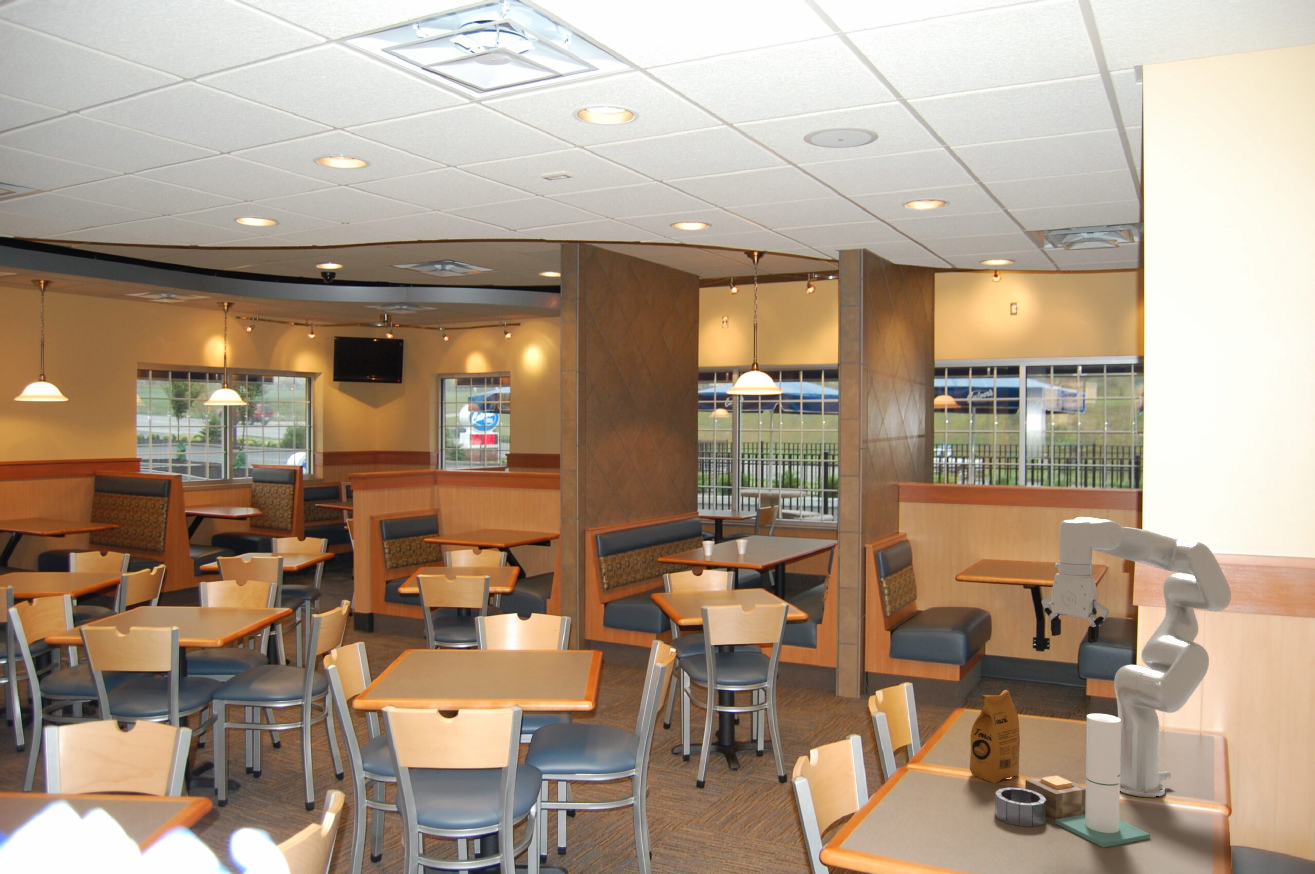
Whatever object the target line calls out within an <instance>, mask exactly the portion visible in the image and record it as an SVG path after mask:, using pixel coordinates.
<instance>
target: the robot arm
mask: <svg viewBox="0 0 1315 874" xmlns="http://www.w3.org/2000/svg"><path fill="white" fill-rule="evenodd" d="M1058 536H1059V537H1058V538H1059V539H1058V543H1059V544H1058V545H1059V547H1058V562H1055V563H1054V568H1055V569H1057V573H1055V575H1054V580H1053V583H1052V589H1051V596H1049V597H1047V598H1045V599H1042V600H1041V604H1042V606H1043V609H1044V612H1045V613H1046V615H1047V616H1048V619H1049V620H1050V631H1051V637H1055V636H1060V635H1061V634H1062V621H1061V618H1060V617H1061V616H1066V617H1073V618H1079V619H1086V620H1087V622H1088V624H1089V626H1088V628H1087V642H1088V643H1089V644H1093V643H1096V642H1098V639H1099V636H1100V635H1099V631H1100V630H1099V629H1100V628H1099V627H1100V626H1101V625H1102V624H1103V623H1104V622H1106V620H1107V617H1108V616H1109V615H1110V609H1109V608H1107V607H1106V606H1104V605H1102V604H1101V603H1100V602H1098V595H1097V593H1098V592H1097V586H1096V581H1095V577H1094V576H1092V574H1093V573H1092V572H1093V571H1092V567H1093V566H1092V565H1093V551H1094V552H1098V553H1103V554H1106V555H1110V556H1114V557H1116V558H1119V559H1123V560H1125V561H1132V562H1135V563H1138V564H1143V565H1147V566H1150V567H1154V568H1156V569H1160V570H1164V571H1168V572H1174V573H1173V574H1170V575H1169V576H1167V577H1166V579H1165V580H1164V583H1163V587H1162V588H1163V589H1162V590H1163V591H1162V592H1163V597H1164V602H1165V615H1164V618H1163V620H1162V621H1161V623H1160V625H1158V627H1157V628H1156V630H1155V631H1154V633H1153V634H1152V635H1151V637H1150V638H1149V639H1148V641H1147V642H1146V643H1145V645H1144V646H1143V649H1142V651H1141V660H1142V663H1144V665H1145V666H1144V665H1143V666H1142V665H1138V664H1126V665H1123V666H1121V667H1120V668H1119V669H1118V670H1117V671H1116V673H1115V676H1114V680H1113V683H1114V684H1113V686H1114V692H1115V698H1116V704H1117V717H1118V718H1120V719H1121V747H1120V791H1121V792H1120V793H1123V794H1127V795H1130V796H1136V797H1141V798H1157V797H1156V796H1159V797H1161V796H1164V795H1165V794H1166V788H1165V786H1164V785H1163V784H1161V782H1162V781H1163V780H1170V779H1172V774H1171V773H1170V771H1168V770H1167V771H1160V770H1159V763H1160V761H1159V760H1160V759H1159V757H1160V755H1159V753H1160V742H1159V741H1160V721H1159V720H1160V719H1159V717H1158V714H1157V711H1159V712H1163V713H1168V714H1170V713H1175V712H1178V711H1179V710H1181V709H1182V708H1183V707H1184V705H1185V704H1186V703H1187V702H1188V700H1189V699H1190V698H1191V696H1193V694H1194V692H1195V691H1196V689H1197V688H1198V687H1199V686H1200V684H1201V683H1202V681H1203V680H1204V678H1205V676H1206V674H1207V672H1208V670H1209V665H1210V658H1209V654H1208V651H1207V650H1206V649H1205V647H1203V646H1202V645H1201V644H1199V643H1197V642H1194V641H1195V640H1196V638H1197V636H1198V634H1199V623H1198V620H1197V617H1196V614H1195V609H1198V610H1203V611H1207V612H1208V611H1209V612H1214V613H1215V612H1222V611H1223V610H1225V609H1227V608H1228V606H1229V605H1230V603H1231V600H1232V591H1231V588H1230V584H1229V583H1228V580H1227V578H1226V576H1225V574H1224V572H1223V570H1222V568H1221V566H1220V563H1219V562H1218V560H1217V558H1216V557H1215V555H1214V553H1213V551H1211V549H1210V548H1209V547H1208V546H1207V545H1206V544H1204V543H1202V542H1198V541H1190V540H1184V539H1183V540H1182V539H1176V538H1172V537H1169V536H1165V535H1162V534H1158V533H1156V532H1152V531H1149V530H1146V529H1141V528H1135V527H1129V526H1122V525H1121V524H1120V523H1118V522H1117V521H1113V520H1111V519H1102V518H1095V517H1087V516H1086V517H1085V516H1078V517H1075V518H1073V519H1066V520H1065V519H1064V520H1062V521H1061V522H1060V524H1059V535H1058ZM1098 612H1099V613H1100V614H1099V616H1097V615H1098Z"/></svg>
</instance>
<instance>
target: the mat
mask: <svg viewBox="0 0 1315 874" xmlns="http://www.w3.org/2000/svg"><path fill="white" fill-rule="evenodd" d="M1055 825H1058V826H1060V827H1061V828H1063V829H1065V830H1067V831H1069V832H1071V833H1073V834H1076V835H1078V836H1079V837H1081V838H1083V839H1085V840H1087V841H1089V842H1091V843H1093V844H1095V845H1097V846H1099V847H1101V848H1109V847H1113V846H1118V845H1123V844H1129V843H1134V841H1135V842H1139V841H1144V840H1150V839H1151V834H1150V833H1149V832H1146V831H1144V830H1142V829H1140V828H1139V827H1136V826H1134V825H1131V824H1129V823H1127V822H1124V821H1123V820H1121V819H1119V831H1118V832H1115V833H1103V832H1098V831H1095V830H1092V829H1090V828H1088V827H1087V826H1086V825H1085V814H1083V815H1077V816H1072V817H1066V818H1061V819H1055Z"/></svg>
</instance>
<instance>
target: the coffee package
mask: <svg viewBox="0 0 1315 874" xmlns="http://www.w3.org/2000/svg"><path fill="white" fill-rule="evenodd" d="M980 700H981V701H983V703H984V705H982V706H981V707H982V708H981V710H980V714H979V715H978V716H977V717H976V720H974V722H973V725H972V727H971V731H970V754H969V755H970V756H969V757H970V760H969V762H970V763H969V772H970V773H971V775H972V776H973V777H978V778H979V779H981V780H984V781H987V782H990V783H993V784H997V783H999V782H1001V781H1002V779H1003V780H1005V779H1004V778H1010V777H1014V776H1015V777H1017V776H1019V774H1020V747H1021V746H1020V745H1021V744H1020V743H1021V741H1020V740H1021V739H1020V722H1019V714H1018V712H1017V710H1016V706H1015V704H1014V702H1013V699H1012V697H1011V694H1010V691H1009V689H1004V690H1003V691H1002V692H1001V693H1000V694H999V695H995V694H994V695H993V694H992V695H989V694H987V695H985V694H982V696H981V697H980ZM1015 777H1014V778H1015Z"/></svg>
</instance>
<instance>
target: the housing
mask: <svg viewBox="0 0 1315 874" xmlns="http://www.w3.org/2000/svg"><path fill="white" fill-rule="evenodd" d="M1052 776H1058V777H1061V778H1063V779H1065V780H1067V781H1070V782H1072V788H1066V789H1060V790H1055V789H1053V788H1051V787H1048V786H1046V785H1044V784H1042V783H1041V778H1046V777H1052ZM1024 783H1025V784H1024V785H1025V788H1024V789H1027V790H1032V791H1035V792H1037V793H1039V794H1041V795H1043V796H1044V797H1045V799H1046V816H1048V817H1049V818H1052V819H1054V820H1056V819H1061V818H1067V817H1072V816H1078V815H1084V814H1085V801H1086V786H1083V785H1080V784H1079V783H1076V782H1074V781H1072V780H1069V779H1067V778H1065V777H1063V776H1061V775H1058V774H1054V775H1048V776H1043V777H1035V778H1028V779H1025V781H1024Z"/></svg>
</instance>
